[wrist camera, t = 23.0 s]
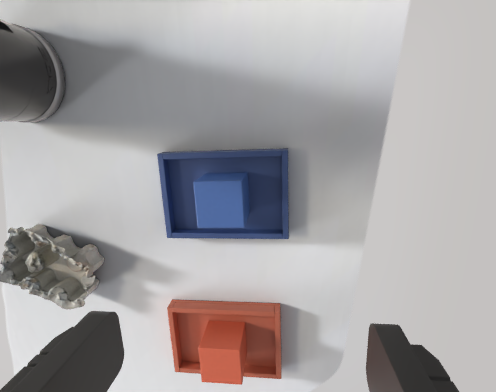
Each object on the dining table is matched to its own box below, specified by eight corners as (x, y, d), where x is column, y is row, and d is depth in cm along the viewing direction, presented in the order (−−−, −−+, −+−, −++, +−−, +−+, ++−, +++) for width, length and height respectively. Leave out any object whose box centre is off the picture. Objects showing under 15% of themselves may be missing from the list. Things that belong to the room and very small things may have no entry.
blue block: (209, 213, 32) (197, 228, 28) (205, 173, 31) (192, 181, 27) (249, 213, 32) (244, 228, 27) (247, 171, 30) (242, 180, 26)
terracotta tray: (179, 361, 38) (175, 372, 37) (172, 299, 36) (166, 308, 34) (281, 367, 37) (281, 379, 35) (280, 303, 34) (280, 312, 33)
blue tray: (172, 232, 34) (166, 238, 32) (163, 152, 32) (156, 153, 30) (288, 232, 32) (288, 239, 31) (287, 148, 30) (287, 150, 28)
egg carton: (111, 250, 35) (89, 266, 32) (95, 299, 38) (74, 320, 34) (30, 214, 35) (-2, 226, 32) (19, 265, 38) (-12, 282, 34)
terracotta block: (211, 351, 37) (201, 382, 32) (208, 320, 36) (198, 347, 31) (247, 353, 36) (242, 384, 32) (245, 321, 35) (239, 350, 31)
